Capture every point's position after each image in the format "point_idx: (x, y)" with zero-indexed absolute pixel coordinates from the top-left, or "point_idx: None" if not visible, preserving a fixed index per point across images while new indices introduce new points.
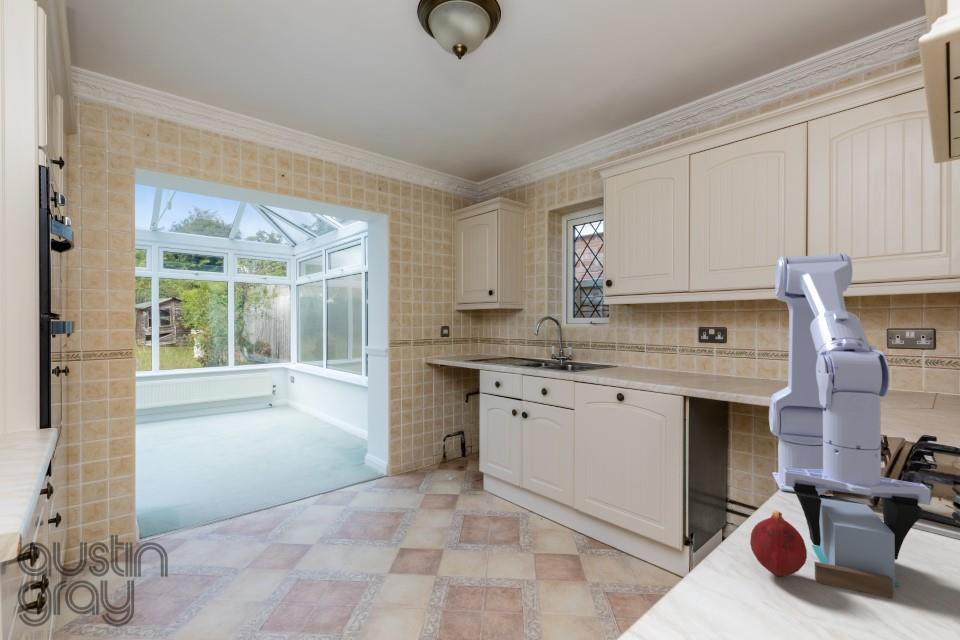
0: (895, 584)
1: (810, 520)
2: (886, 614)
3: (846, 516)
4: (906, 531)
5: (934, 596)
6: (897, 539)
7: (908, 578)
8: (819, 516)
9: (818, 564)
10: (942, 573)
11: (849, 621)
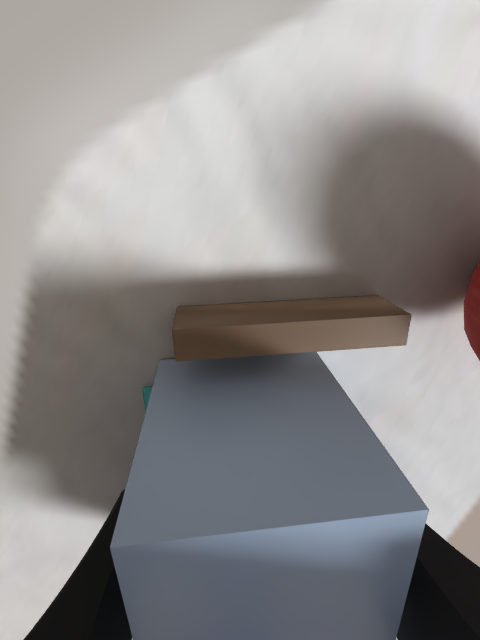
0: (151, 390)
1: (448, 548)
2: (223, 181)
3: (310, 634)
4: (40, 626)
5: (56, 380)
6: (98, 565)
7: (106, 451)
8: (436, 582)
9: (401, 327)
10: (14, 521)
11: (361, 55)
